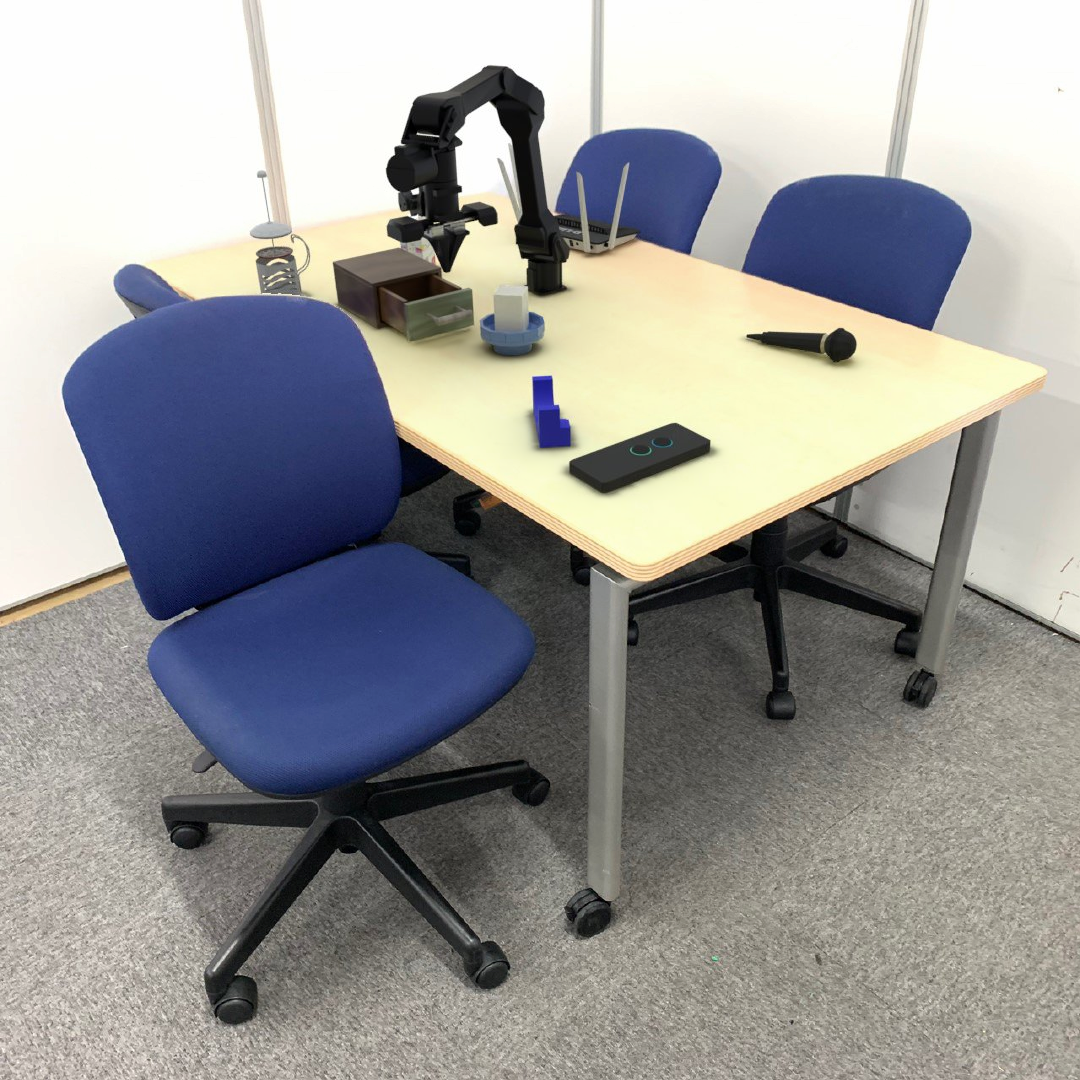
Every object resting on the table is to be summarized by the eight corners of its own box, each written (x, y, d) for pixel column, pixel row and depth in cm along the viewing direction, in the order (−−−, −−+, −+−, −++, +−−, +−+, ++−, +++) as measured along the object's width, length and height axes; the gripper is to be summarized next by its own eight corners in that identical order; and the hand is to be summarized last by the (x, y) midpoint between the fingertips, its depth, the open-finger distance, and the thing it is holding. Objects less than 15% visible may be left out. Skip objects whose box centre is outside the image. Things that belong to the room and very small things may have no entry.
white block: (501, 324, 182) (499, 284, 178) (529, 325, 181) (527, 286, 177) (495, 334, 178) (493, 294, 174) (523, 336, 177) (522, 295, 173)
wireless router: (661, 243, 232) (665, 150, 221) (598, 269, 217) (599, 171, 206) (547, 219, 250) (546, 133, 240) (483, 241, 236) (478, 151, 225)
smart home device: (713, 440, 146) (604, 483, 136) (712, 451, 147) (604, 494, 137) (674, 420, 152) (566, 459, 142) (673, 430, 152) (566, 470, 143)
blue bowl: (521, 331, 188) (520, 305, 185) (557, 349, 180) (556, 323, 177) (469, 346, 182) (467, 319, 180) (504, 365, 175) (502, 338, 172)
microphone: (742, 358, 183) (850, 370, 171) (737, 331, 179) (846, 342, 167) (756, 340, 185) (863, 351, 173) (751, 313, 182) (859, 322, 170)
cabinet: (444, 311, 198) (441, 267, 193) (377, 328, 191) (372, 283, 186) (403, 289, 209) (399, 247, 205) (338, 304, 202) (332, 261, 198)
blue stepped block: (570, 446, 149) (570, 408, 146) (539, 447, 149) (538, 410, 146) (562, 410, 159) (561, 374, 156) (533, 412, 159) (532, 376, 156)
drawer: (489, 333, 185) (487, 296, 181) (425, 350, 179) (421, 313, 175) (432, 302, 199) (429, 268, 196) (370, 317, 193) (366, 282, 189)
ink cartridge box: (414, 266, 221) (408, 197, 214) (436, 267, 221) (431, 197, 213) (402, 279, 214) (395, 208, 206) (425, 280, 214) (419, 208, 206)
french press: (253, 295, 208) (230, 168, 194) (309, 287, 211) (291, 161, 198) (261, 311, 200) (238, 179, 187) (320, 301, 204) (302, 171, 190)
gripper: (462, 162, 179) (467, 251, 187) (366, 178, 170) (376, 271, 178) (497, 173, 171) (501, 265, 179) (398, 191, 162) (407, 287, 170)
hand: (446, 272), depth 177 cm, fingers closed
